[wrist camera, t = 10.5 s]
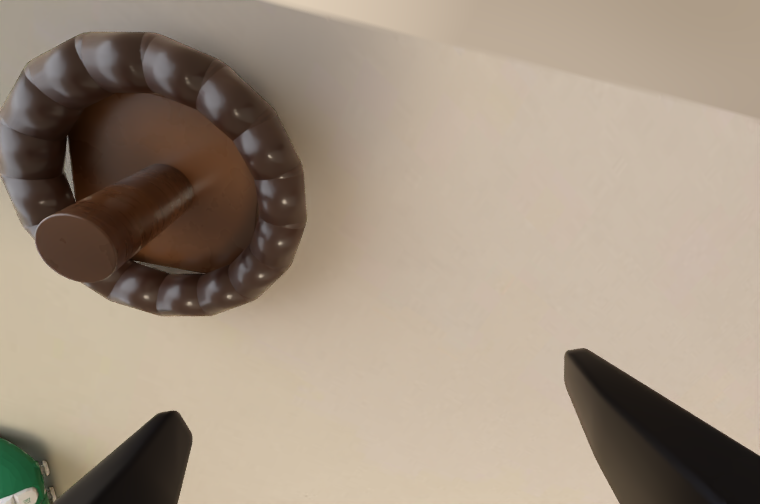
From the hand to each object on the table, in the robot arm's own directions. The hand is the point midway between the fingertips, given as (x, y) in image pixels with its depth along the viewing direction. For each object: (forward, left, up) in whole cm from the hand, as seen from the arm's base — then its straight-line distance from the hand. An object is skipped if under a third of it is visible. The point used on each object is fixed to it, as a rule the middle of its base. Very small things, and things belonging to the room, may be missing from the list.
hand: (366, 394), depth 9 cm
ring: (0, -9, -10) cm, 13 cm away
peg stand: (+1, -9, -12) cm, 15 cm away
